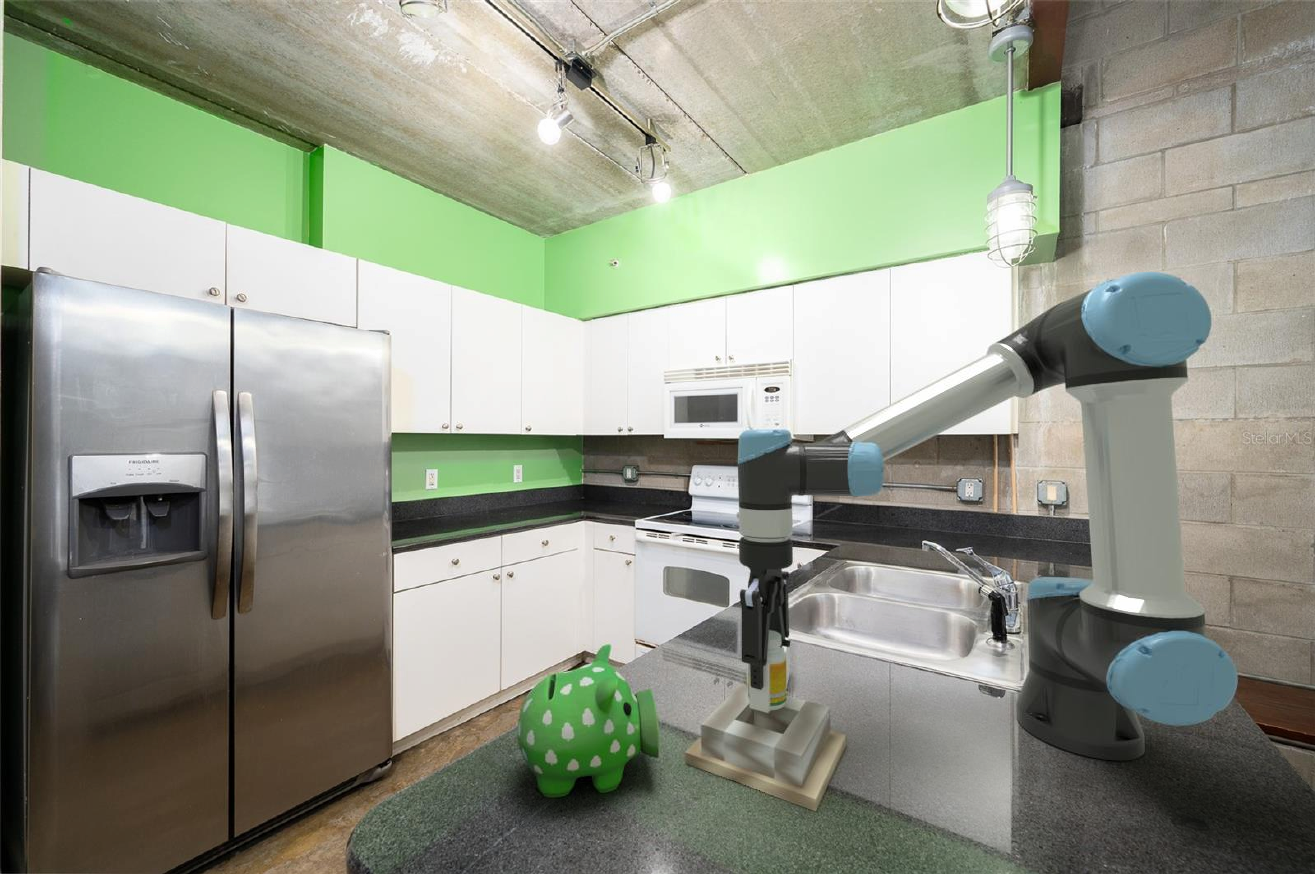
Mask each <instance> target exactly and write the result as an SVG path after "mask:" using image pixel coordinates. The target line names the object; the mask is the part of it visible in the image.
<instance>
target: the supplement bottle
mask: <svg viewBox="0 0 1315 874" xmlns="http://www.w3.org/2000/svg"><path fill="white" fill-rule="evenodd" d="M781 644H782V642H781V635H780V633H778V632H776V631H772V630H769V637H768V650H767V663H770V710H777V709H780V708H782V707H783V706H784V705H785V704H786V696H787V689H786V654H785V652H784V650H783V649H782V648H781V647H780V646H781ZM747 686H748V699H749V664H748V685H747Z"/></svg>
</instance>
